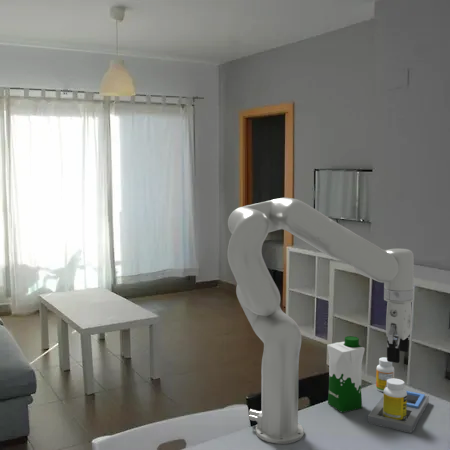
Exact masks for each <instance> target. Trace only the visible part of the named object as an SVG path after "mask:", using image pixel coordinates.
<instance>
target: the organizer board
mask: <svg viewBox="0 0 450 450" xmlns="http://www.w3.org/2000/svg"><path fill="white" fill-rule="evenodd" d="M406 392H407V409H406V421H401V420H397V419H392V418H388V417H383V396H382V397H381V398H380V400H379V401H377V404H375V406H374V407H373V408H372V410H371V411H370V412H369V414H368V415H367V423H368V424H371V425H374V426H381V427H383V428H388V429H393V430H397V431H402V432H405V433H410V434H412V433H413V431H414V429H415V428H416V426H417V424H418V422H419V421H420V419H421V417H422V415H423V413H424V411H425V410H426V409H427V407H428V404H429V403H430V402H429V401H430V400H429V399H430V397H429V396H428V395H426V394H424V393H418V392H414V391H409V390H406ZM411 402H412V403H411Z"/></svg>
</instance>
